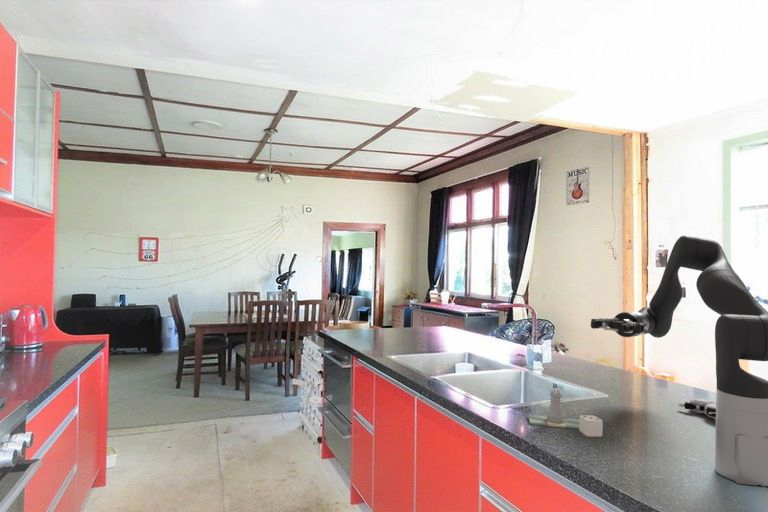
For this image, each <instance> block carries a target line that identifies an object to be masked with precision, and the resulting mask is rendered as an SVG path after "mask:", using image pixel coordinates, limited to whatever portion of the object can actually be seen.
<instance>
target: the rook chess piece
mask: <svg viewBox="0 0 768 512" xmlns="http://www.w3.org/2000/svg"><path fill="white" fill-rule="evenodd" d="M549 396H550V398H549V400H550V406H549V407H550V408H549V409H548V412H547V413H546V417H547V420H548V421H550V422H553V423H562V422H563V421H564V419H563V418H564V417H565V416H564V414H563V412H562V408H561V402H562V400H561V397H563V394H562V393H561V390H559V389H551V390H550V393H549Z"/></svg>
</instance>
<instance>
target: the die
mask: <svg viewBox="0 0 768 512" xmlns="http://www.w3.org/2000/svg"><path fill="white" fill-rule="evenodd" d="M578 420H579V429H578V431H579V432H580V433H582V434H583V435H584V436H585V437H598V438H599V437H603V431H602V429H603V430H604V428H603V425H604V424H603V423H604V421H603V420H602V419H601V418H599V417H598V416H596V415H584V414H583V415H579V418H578Z"/></svg>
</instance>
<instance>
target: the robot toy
mask: <svg viewBox="0 0 768 512" xmlns="http://www.w3.org/2000/svg"><path fill="white" fill-rule="evenodd" d="M678 406H679V407H682V408H683V407H684V409H685V410H689V411H690V410H691V411H693V412H695V413H696V414H700V415H701V414H704V415H706V416H707V417H709V418H712V419H714V420H715V421H716V402H714V401H713V400H709V399H705V398H695V399H693V400H691V399H690V400H689V402H686V401H685V402H684V403H683V402H680V403H678Z"/></svg>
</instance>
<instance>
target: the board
mask: <svg viewBox="0 0 768 512" xmlns="http://www.w3.org/2000/svg"><path fill="white" fill-rule="evenodd" d="M547 417H548V416H542V415H529V414H527V419H528V421H529V424H530V425H531V426H532V425H535V426H545V427H554V428H555V427H556V428H565V429H576V430H579V419H575V418H566V417H565V418H564V417H563V419H564V421H563V422H562V423H553V422H550V421H548V420H547ZM603 430H604V428H603V429H602V432H604V431H603Z"/></svg>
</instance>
